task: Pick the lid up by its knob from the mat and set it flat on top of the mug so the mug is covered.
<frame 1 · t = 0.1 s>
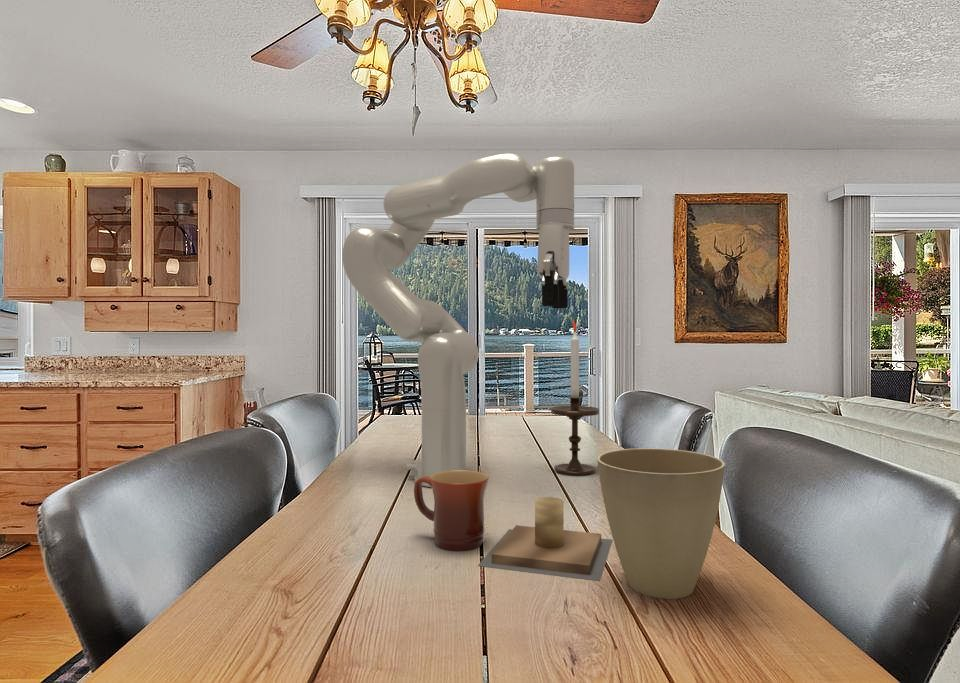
hand: (555, 307, 121), 37 cm above the table, tool pointing down, fingers open, 9 cm apart
mug: (449, 545, 90), on the table
mat: (549, 555, 85), on the table
lid: (549, 551, 85), resting on mat
candlestick: (574, 472, 138), on the table
plant pot: (658, 590, 74), on the table
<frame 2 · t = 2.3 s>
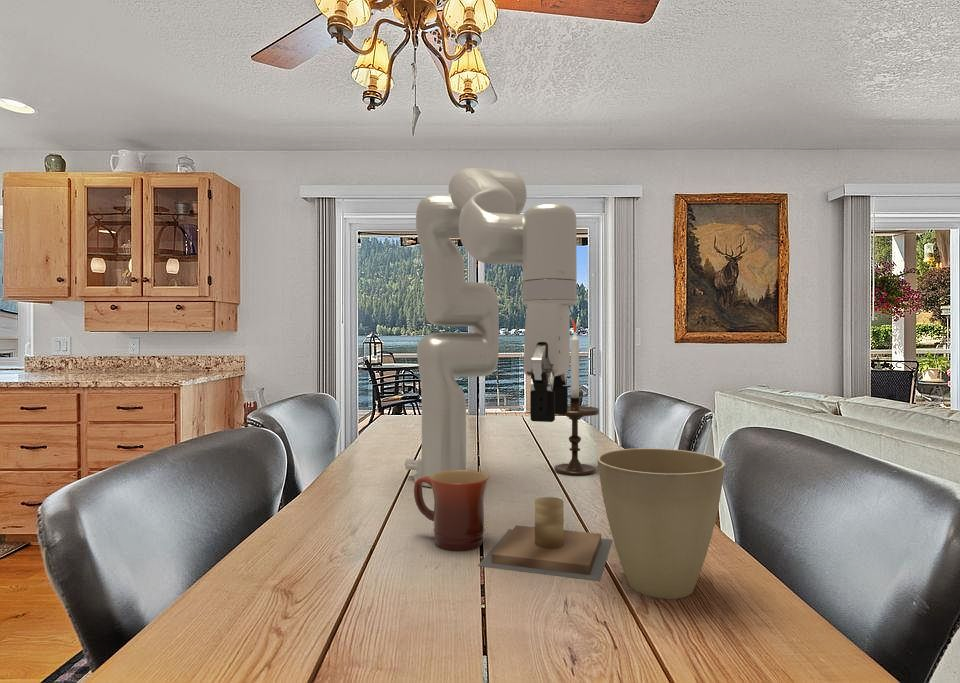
hand: (550, 416, 85), 20 cm above the table, tool pointing down, fingers open, 9 cm apart
nothing on the table moved.
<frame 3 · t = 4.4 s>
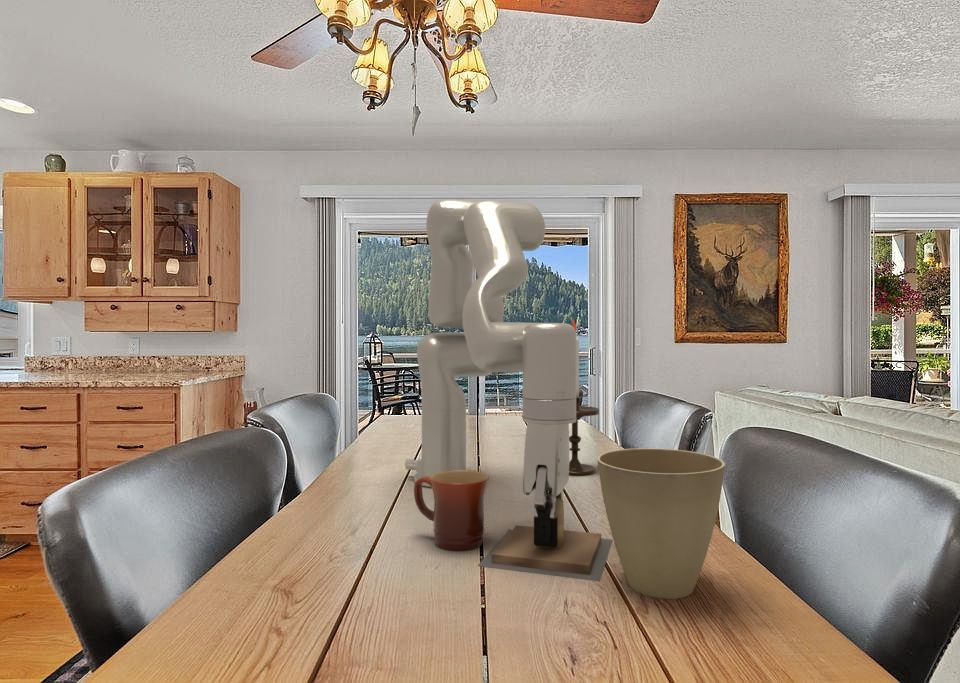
hand: (549, 539, 85), 2 cm above the table, tool pointing down, fingers closed on lid, 4 cm apart
lid: (549, 551, 85), resting on mat, touching gripper
everything else where it was.
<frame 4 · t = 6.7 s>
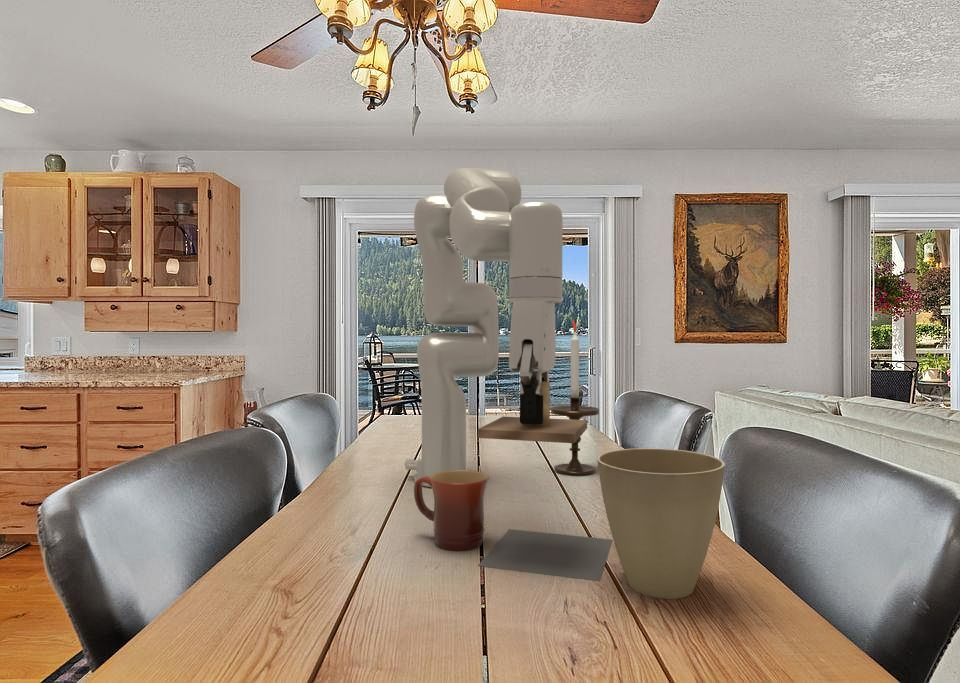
hand: (535, 420, 86), 19 cm above the table, tool pointing down, fingers closed on lid, 4 cm apart
lid: (535, 432, 86), point 17 cm above the table, touching gripper
everything else where it was.
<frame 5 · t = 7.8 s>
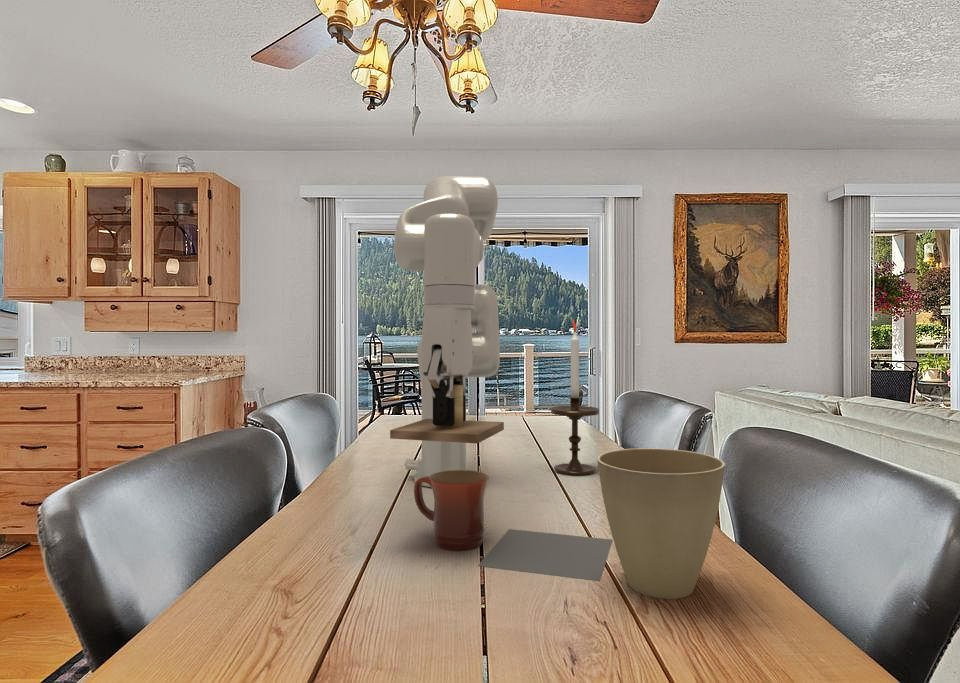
hand: (449, 421, 89), 18 cm above the table, tool pointing down, fingers closed on lid, 4 cm apart
lid: (449, 433, 89), point 16 cm above the table, touching gripper
everything else where it was.
when the fingers open (13 cm above the table, at t = 8.9 s): lid drops 1 cm, resting on mug.
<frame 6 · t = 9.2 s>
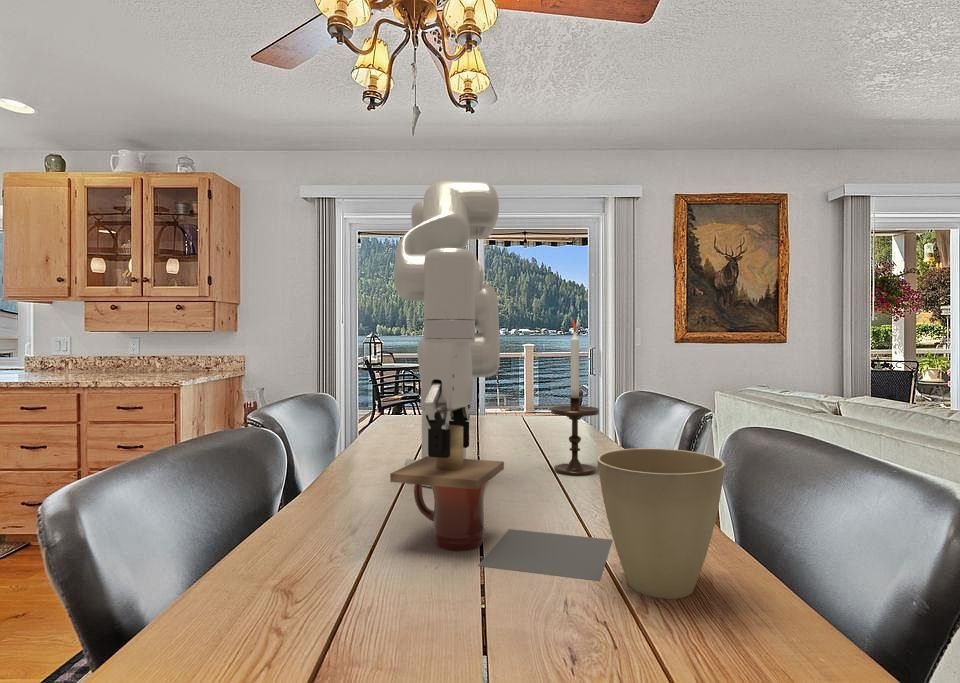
hand: (449, 451, 89), 14 cm above the table, tool pointing down, fingers open, 7 cm apart
mug: (449, 545, 90), on the table, touching lid
lid: (449, 475, 90), point 10 cm above the table, touching mug
everything else where it was.
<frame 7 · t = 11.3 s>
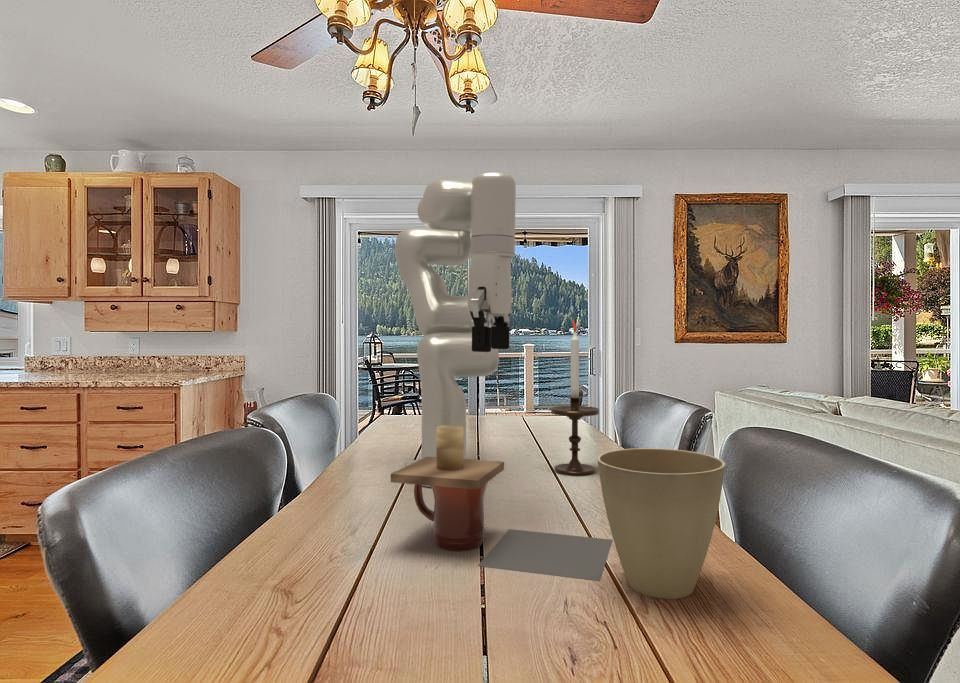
hand: (491, 350, 103), 29 cm above the table, tool pointing down, fingers open, 9 cm apart
nothing on the table moved.
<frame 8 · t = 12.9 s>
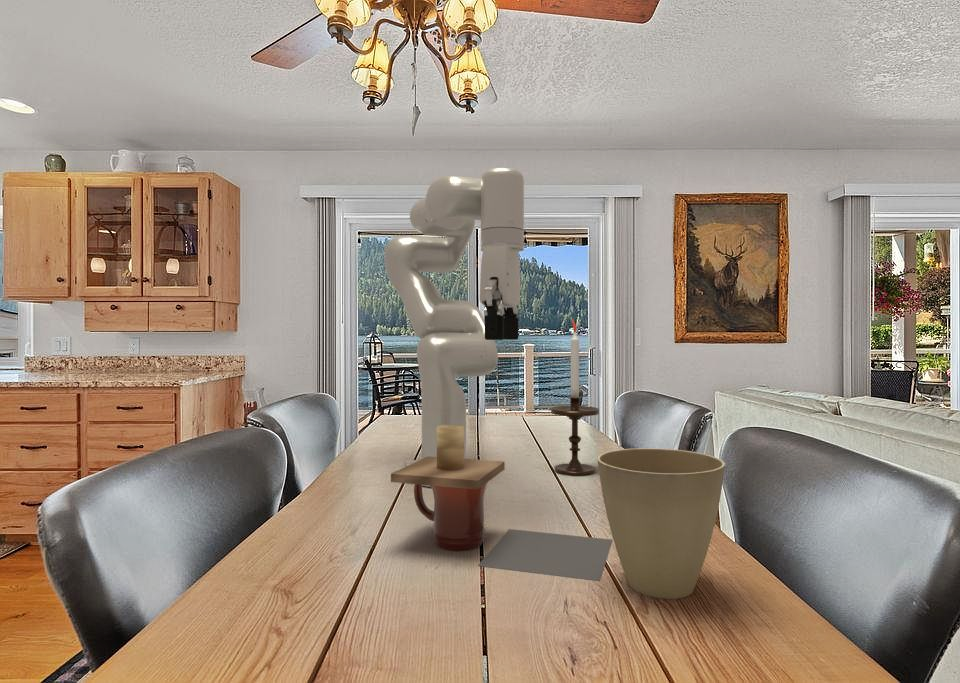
hand: (502, 339, 106), 30 cm above the table, tool pointing down, fingers open, 9 cm apart
nothing on the table moved.
at the end: lid 0.1 cm off-centre on the mug, point 10.5 cm above the mug's base; lid tilted 0°; the gripper is holding nothing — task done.
